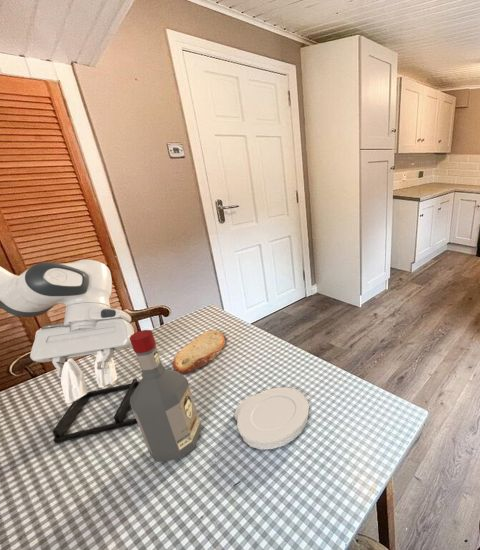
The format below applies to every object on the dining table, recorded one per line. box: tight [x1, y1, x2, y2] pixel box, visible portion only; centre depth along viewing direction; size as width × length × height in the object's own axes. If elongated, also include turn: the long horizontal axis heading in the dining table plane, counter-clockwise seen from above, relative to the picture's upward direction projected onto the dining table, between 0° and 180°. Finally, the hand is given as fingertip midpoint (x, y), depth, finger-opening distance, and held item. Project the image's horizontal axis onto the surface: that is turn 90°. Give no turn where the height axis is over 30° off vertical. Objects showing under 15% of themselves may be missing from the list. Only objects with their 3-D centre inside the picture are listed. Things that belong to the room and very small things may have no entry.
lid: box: [233, 386, 310, 450], centre depth 77 cm, size 17×20×3 cm
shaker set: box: [60, 350, 118, 405], centre depth 76 cm, size 12×4×11 cm, turn 159°
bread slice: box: [172, 330, 226, 375], centre depth 102 cm, size 18×18×4 cm
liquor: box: [130, 329, 203, 463], centre depth 65 cm, size 9×9×30 cm
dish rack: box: [51, 378, 140, 444], centre depth 80 cm, size 19×16×3 cm
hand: (83, 372), depth 75 cm, fingers closed on shaker set, 6 cm apart
